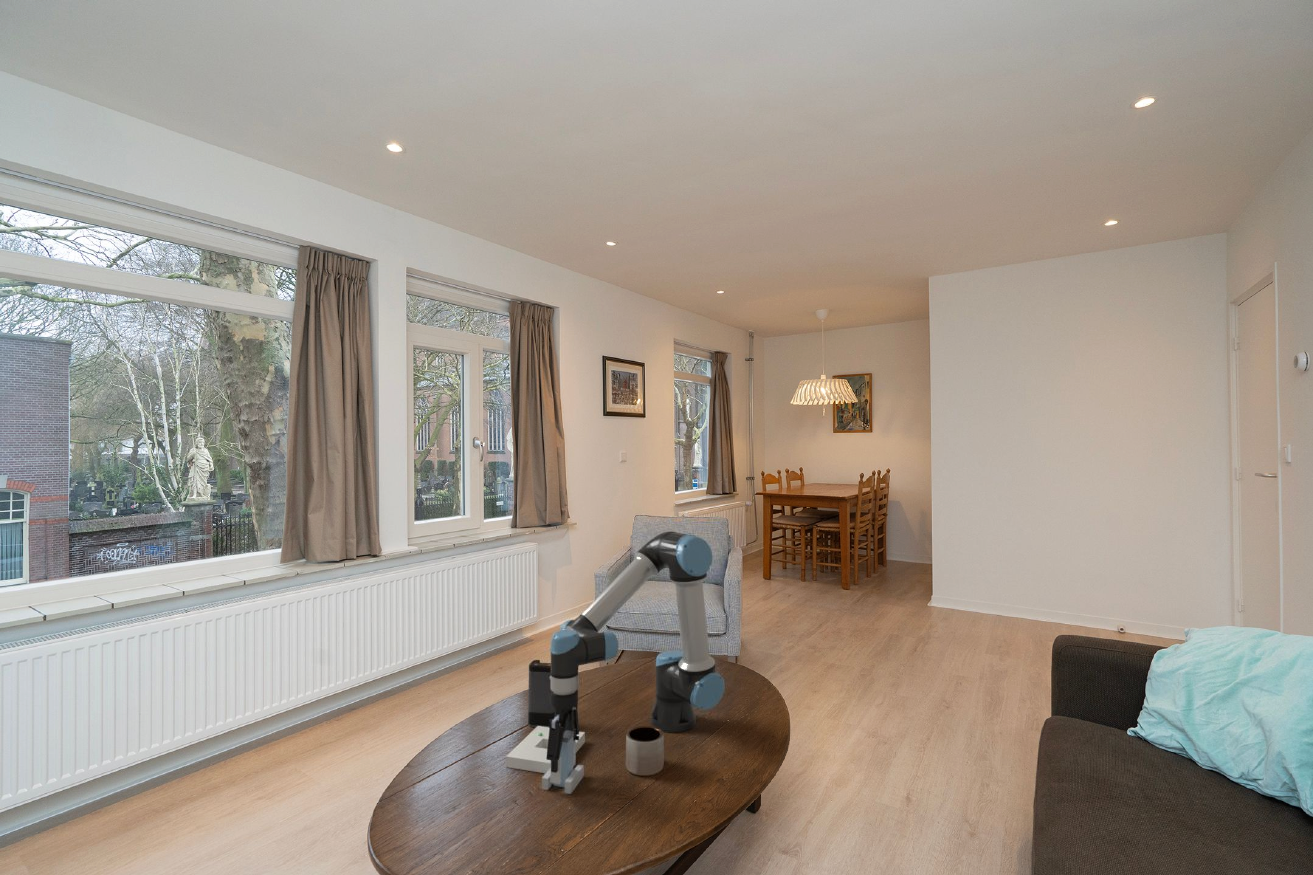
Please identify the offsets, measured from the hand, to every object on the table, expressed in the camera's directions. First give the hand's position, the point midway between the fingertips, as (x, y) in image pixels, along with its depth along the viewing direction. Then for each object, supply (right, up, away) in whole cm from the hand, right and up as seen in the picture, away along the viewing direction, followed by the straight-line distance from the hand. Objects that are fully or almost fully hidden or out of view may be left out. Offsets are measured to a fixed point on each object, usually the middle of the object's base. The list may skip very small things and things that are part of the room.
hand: (563, 773), depth 164 cm
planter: (+22, -3, +8) cm, 24 cm away
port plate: (-7, -3, +15) cm, 17 cm away
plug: (0, -2, 0) cm, 2 cm away
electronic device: (-12, -3, +35) cm, 38 cm away
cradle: (0, -2, 0) cm, 2 cm away
